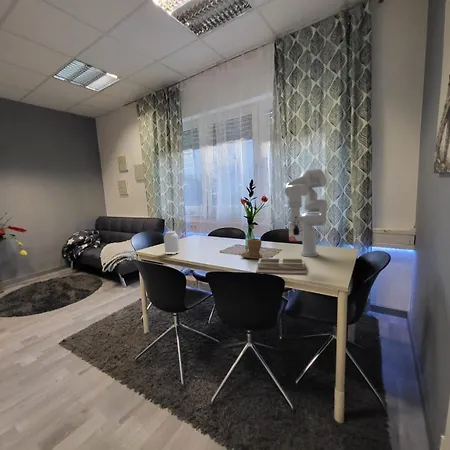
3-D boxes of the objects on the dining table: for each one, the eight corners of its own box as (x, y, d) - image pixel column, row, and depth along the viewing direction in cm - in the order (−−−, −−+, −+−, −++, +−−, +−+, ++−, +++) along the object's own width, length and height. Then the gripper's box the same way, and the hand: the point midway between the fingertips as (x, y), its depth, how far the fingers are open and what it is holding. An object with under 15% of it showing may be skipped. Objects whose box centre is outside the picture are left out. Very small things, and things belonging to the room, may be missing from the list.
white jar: (180, 254, 209) (177, 231, 206) (165, 256, 206) (163, 233, 203) (179, 251, 221) (177, 229, 218) (165, 252, 218) (163, 231, 215)
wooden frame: (260, 261, 171) (259, 255, 171) (304, 262, 163) (303, 255, 163) (255, 273, 148) (255, 266, 148) (306, 274, 140) (306, 267, 140)
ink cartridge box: (289, 241, 149) (288, 218, 147) (289, 239, 154) (288, 217, 152) (303, 240, 147) (303, 217, 145) (302, 239, 152) (302, 216, 150)
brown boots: (265, 256, 184) (264, 237, 182) (257, 260, 174) (256, 240, 172) (248, 254, 193) (247, 236, 191) (240, 258, 183) (239, 239, 181)
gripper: (288, 204, 157) (289, 231, 159) (289, 206, 140) (290, 236, 143) (300, 203, 155) (301, 231, 157) (302, 205, 138) (303, 236, 141)
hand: (296, 233), depth 150 cm, fingers closed on ink cartridge box, 5 cm apart
